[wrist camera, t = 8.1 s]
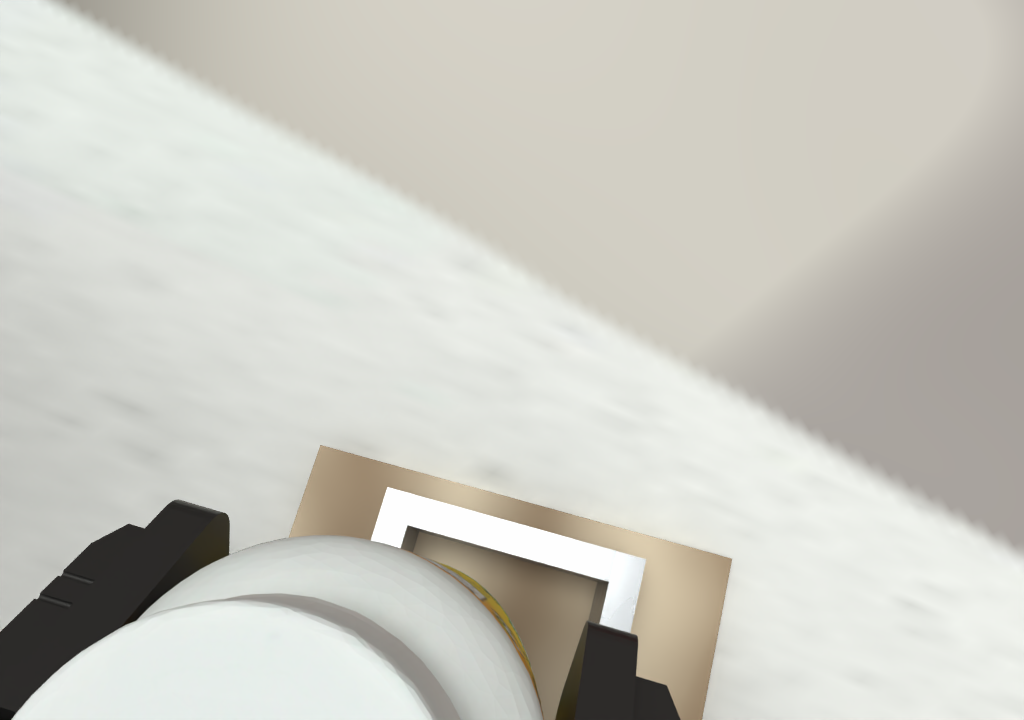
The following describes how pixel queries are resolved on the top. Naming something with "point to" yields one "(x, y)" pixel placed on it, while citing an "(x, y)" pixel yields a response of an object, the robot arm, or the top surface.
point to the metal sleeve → (518, 549)
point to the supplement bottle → (305, 644)
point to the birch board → (544, 575)
